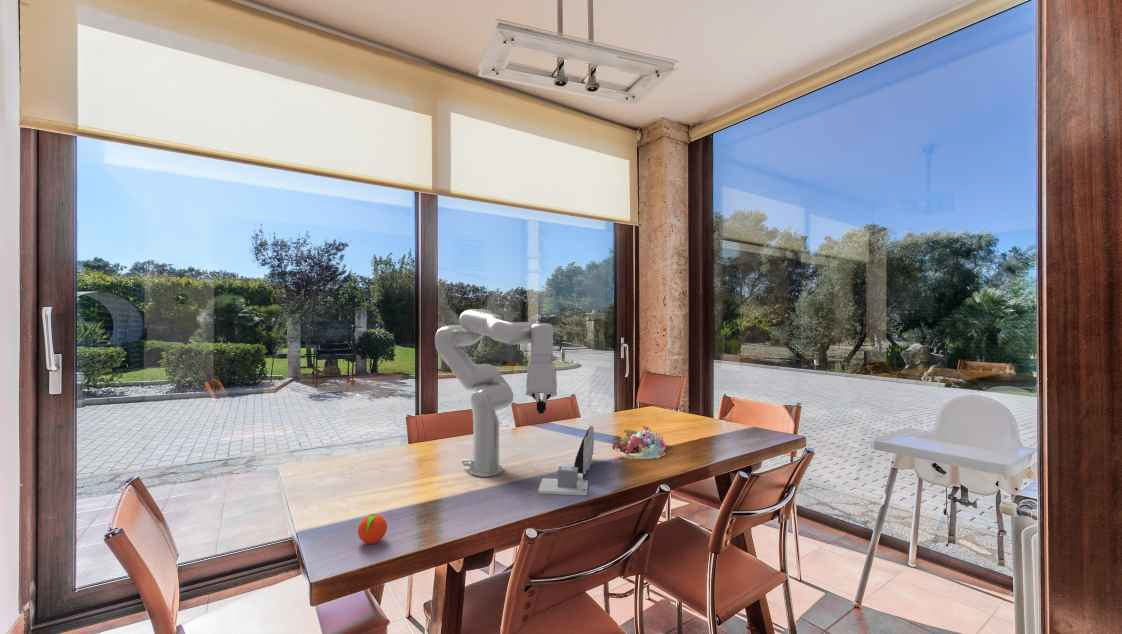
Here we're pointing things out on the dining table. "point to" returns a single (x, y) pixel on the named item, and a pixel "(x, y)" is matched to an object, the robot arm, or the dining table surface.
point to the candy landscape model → (640, 444)
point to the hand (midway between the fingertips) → (541, 412)
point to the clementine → (372, 528)
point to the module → (567, 477)
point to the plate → (552, 488)
